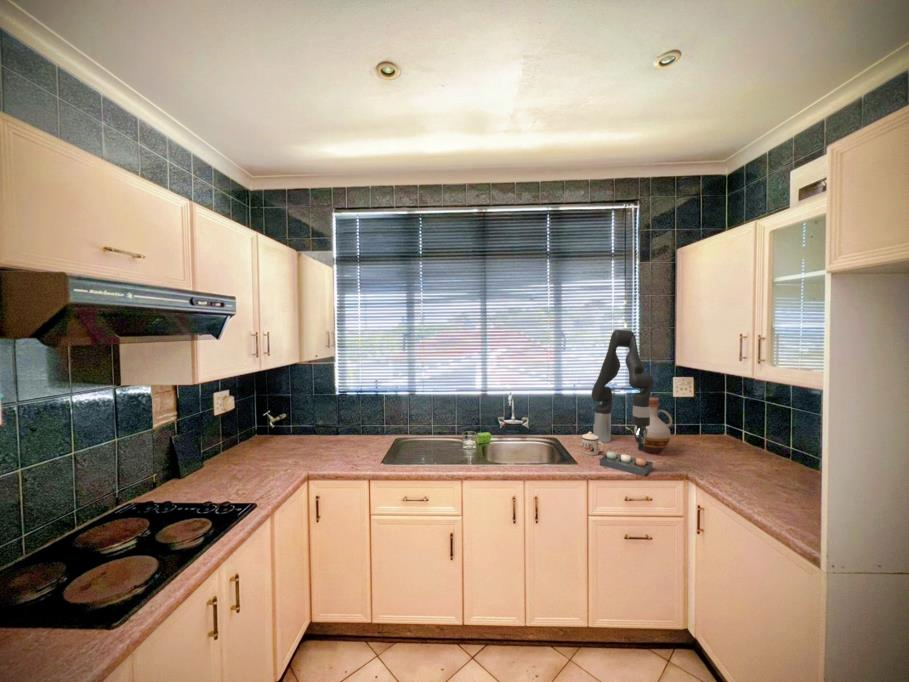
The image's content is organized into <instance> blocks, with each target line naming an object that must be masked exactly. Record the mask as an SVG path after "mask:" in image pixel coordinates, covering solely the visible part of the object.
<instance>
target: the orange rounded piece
mask: <svg viewBox="0 0 909 682" xmlns="http://www.w3.org/2000/svg"><path fill="white" fill-rule="evenodd" d="M635 458H636V465H638V466H642V467H646V461H647V459H646V458H643V457H635Z"/></svg>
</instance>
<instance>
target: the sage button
mask: <svg viewBox="0 0 909 682" xmlns="http://www.w3.org/2000/svg"><path fill="white" fill-rule="evenodd" d="M606 454H607V458H608V459H613V460H616V454H617V452H616V451H613V450H608V451H606Z"/></svg>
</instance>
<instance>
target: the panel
mask: <svg viewBox="0 0 909 682" xmlns="http://www.w3.org/2000/svg"><path fill="white" fill-rule="evenodd" d="M621 455H622V454H619V453H618V454H617V453H616V460H613V459H608V458H607V453H606V454H605V455H604V456H602V457H601V458H599V466H601V467H605V468H610V469H614V470H618V471H621V472H626V473H629V474H634V475H637V476H641V477H646V475H648V473H650V472H651V471H652V470H653V468H654V467H653V465H654V462H652V461H648V460H646V467H642V466H638V465H636V458H637V457H631V463H630V464H629V463H625V462H621Z"/></svg>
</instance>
